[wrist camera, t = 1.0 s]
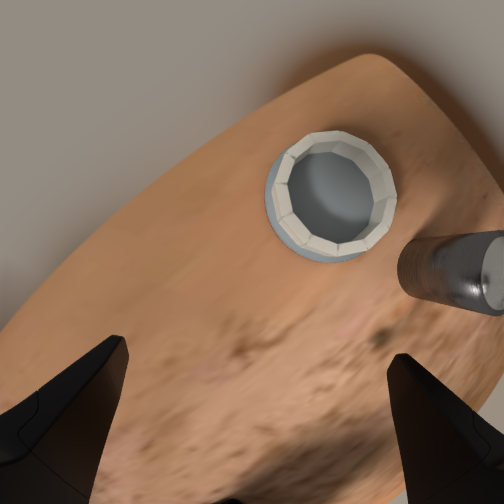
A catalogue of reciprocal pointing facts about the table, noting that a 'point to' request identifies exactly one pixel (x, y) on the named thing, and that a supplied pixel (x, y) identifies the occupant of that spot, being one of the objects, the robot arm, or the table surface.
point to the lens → (456, 271)
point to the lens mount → (330, 197)
